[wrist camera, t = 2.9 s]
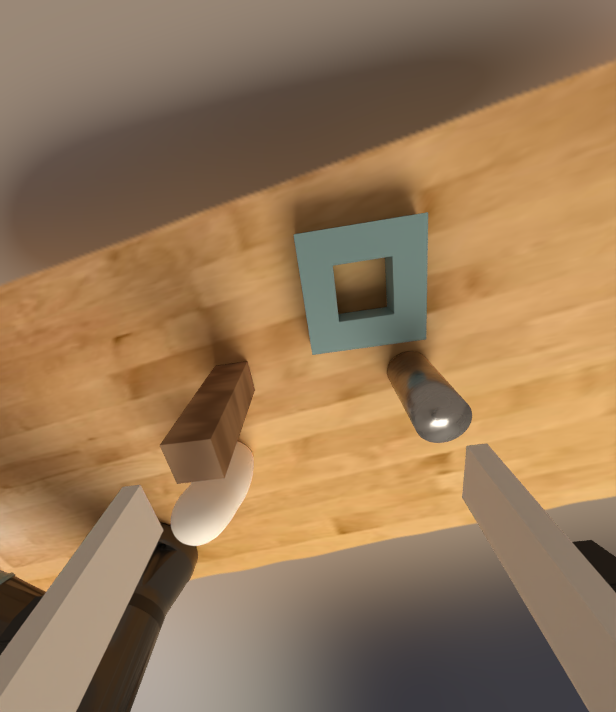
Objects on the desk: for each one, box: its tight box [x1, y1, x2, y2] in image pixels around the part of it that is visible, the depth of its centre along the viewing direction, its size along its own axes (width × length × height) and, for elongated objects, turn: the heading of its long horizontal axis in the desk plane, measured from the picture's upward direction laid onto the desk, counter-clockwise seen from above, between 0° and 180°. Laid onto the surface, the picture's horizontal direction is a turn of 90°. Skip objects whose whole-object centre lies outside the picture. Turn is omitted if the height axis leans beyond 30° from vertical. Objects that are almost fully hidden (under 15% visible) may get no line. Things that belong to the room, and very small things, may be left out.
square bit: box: [160, 362, 255, 484], centre depth 29 cm, size 4×4×14 cm
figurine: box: [171, 441, 254, 546], centre depth 35 cm, size 7×8×12 cm
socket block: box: [294, 213, 428, 355], centre depth 29 cm, size 12×12×3 cm
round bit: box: [387, 351, 472, 443], centre depth 30 cm, size 5×5×10 cm
